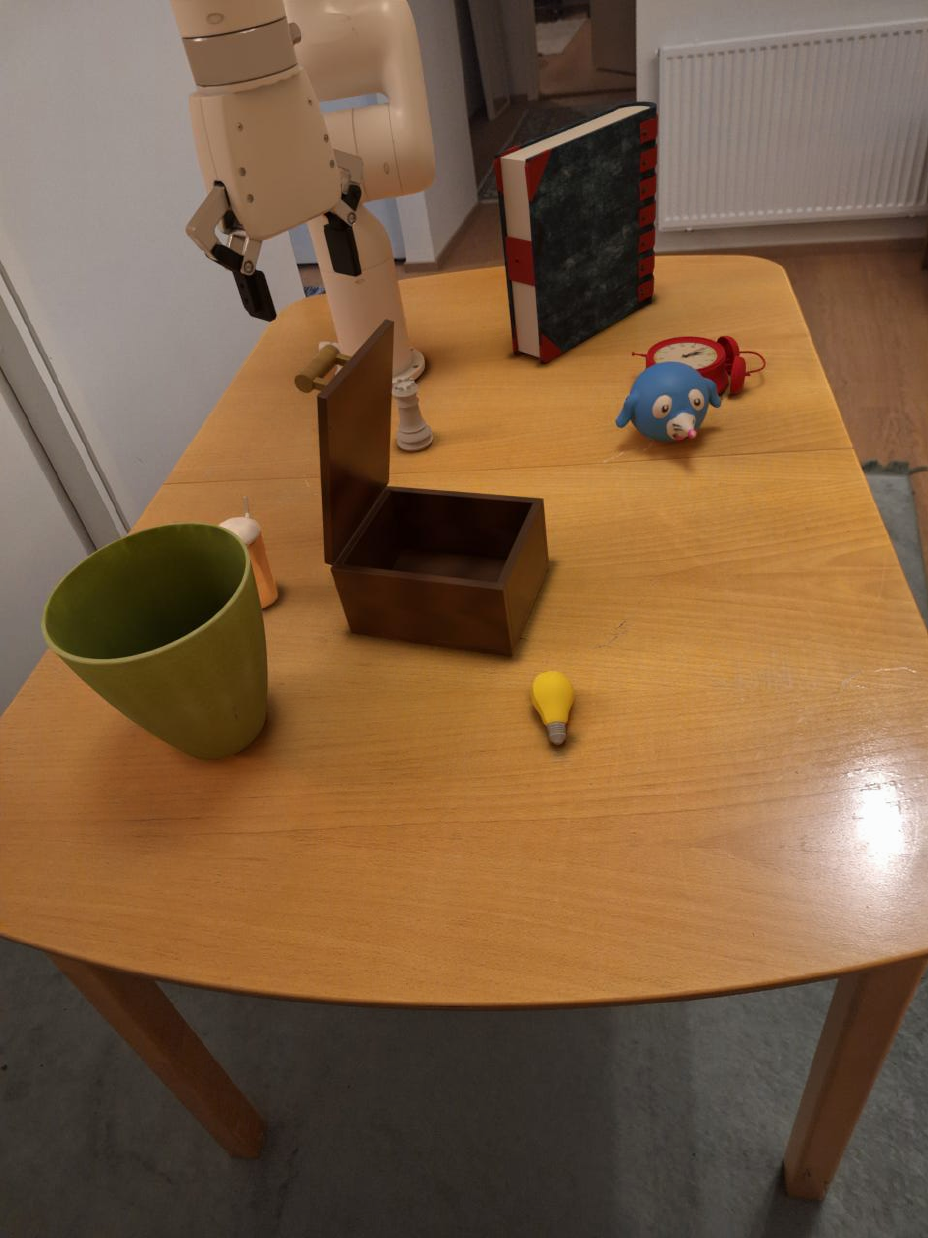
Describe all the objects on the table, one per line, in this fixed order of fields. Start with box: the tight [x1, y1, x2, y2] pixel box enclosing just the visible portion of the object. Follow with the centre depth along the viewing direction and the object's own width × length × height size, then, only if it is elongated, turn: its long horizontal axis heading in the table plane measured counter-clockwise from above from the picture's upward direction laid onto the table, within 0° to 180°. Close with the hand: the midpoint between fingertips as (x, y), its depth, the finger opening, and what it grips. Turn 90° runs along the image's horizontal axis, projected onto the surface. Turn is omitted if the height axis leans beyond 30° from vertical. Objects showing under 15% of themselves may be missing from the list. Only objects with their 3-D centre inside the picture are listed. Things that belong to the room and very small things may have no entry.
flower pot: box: [40, 521, 269, 761], centre depth 63 cm, size 15×15×16 cm
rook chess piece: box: [392, 377, 434, 452], centre depth 95 cm, size 4×4×8 cm
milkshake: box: [218, 496, 279, 609], centre depth 77 cm, size 5×5×10 cm
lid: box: [293, 319, 394, 567], centre depth 67 cm, size 16×13×5 cm
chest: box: [329, 485, 550, 658], centre depth 73 cm, size 16×13×8 cm
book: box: [493, 100, 659, 365], centre depth 107 cm, size 25×7×25 cm, turn 132°
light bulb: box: [529, 670, 576, 746], centre depth 63 cm, size 3×6×4 cm, turn 1°
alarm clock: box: [631, 335, 767, 395], centre depth 97 cm, size 10×6×15 cm
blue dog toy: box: [614, 361, 722, 443], centre depth 87 cm, size 12×12×8 cm
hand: (307, 294), depth 69 cm, fingers open, 9 cm apart
